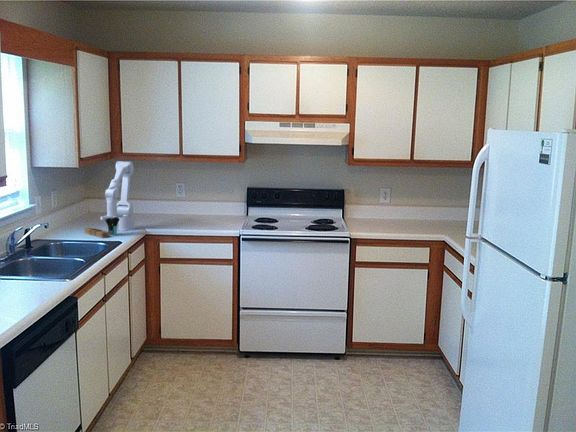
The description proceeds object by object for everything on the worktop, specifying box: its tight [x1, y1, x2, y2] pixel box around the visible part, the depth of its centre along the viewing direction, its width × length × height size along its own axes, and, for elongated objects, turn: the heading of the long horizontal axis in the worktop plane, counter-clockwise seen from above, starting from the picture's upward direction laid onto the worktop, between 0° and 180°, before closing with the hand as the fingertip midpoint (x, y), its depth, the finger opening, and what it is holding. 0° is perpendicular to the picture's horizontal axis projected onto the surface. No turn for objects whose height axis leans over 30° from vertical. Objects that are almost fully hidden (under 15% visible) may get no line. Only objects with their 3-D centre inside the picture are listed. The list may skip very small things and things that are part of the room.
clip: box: [107, 224, 118, 237], centre depth 319 cm, size 6×2×6 cm, turn 51°
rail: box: [83, 227, 111, 239], centre depth 318 cm, size 5×20×3 cm, turn 51°
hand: (112, 230), depth 320 cm, fingers closed on clip, 2 cm apart
